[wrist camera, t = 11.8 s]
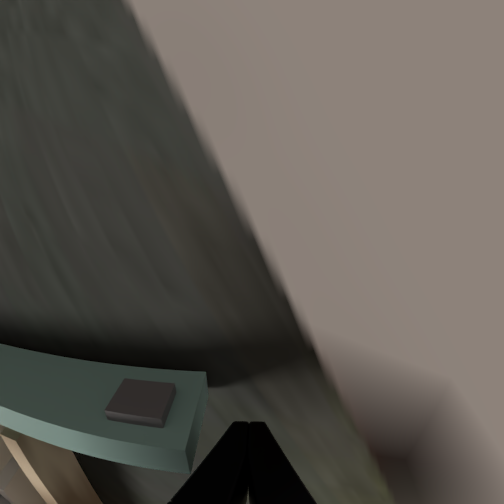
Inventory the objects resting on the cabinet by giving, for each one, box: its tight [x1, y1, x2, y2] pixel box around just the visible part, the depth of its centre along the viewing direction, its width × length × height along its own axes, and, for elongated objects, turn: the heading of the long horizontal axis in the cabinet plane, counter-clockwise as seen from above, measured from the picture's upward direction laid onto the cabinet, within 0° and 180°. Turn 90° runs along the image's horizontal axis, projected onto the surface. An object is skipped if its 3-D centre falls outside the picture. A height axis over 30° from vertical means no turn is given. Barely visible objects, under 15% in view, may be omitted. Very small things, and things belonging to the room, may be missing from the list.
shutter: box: [0, 344, 208, 474], centre depth 8 cm, size 1×14×4 cm, turn 90°
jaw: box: [0, 456, 47, 504], centre depth 10 cm, size 4×4×5 cm
